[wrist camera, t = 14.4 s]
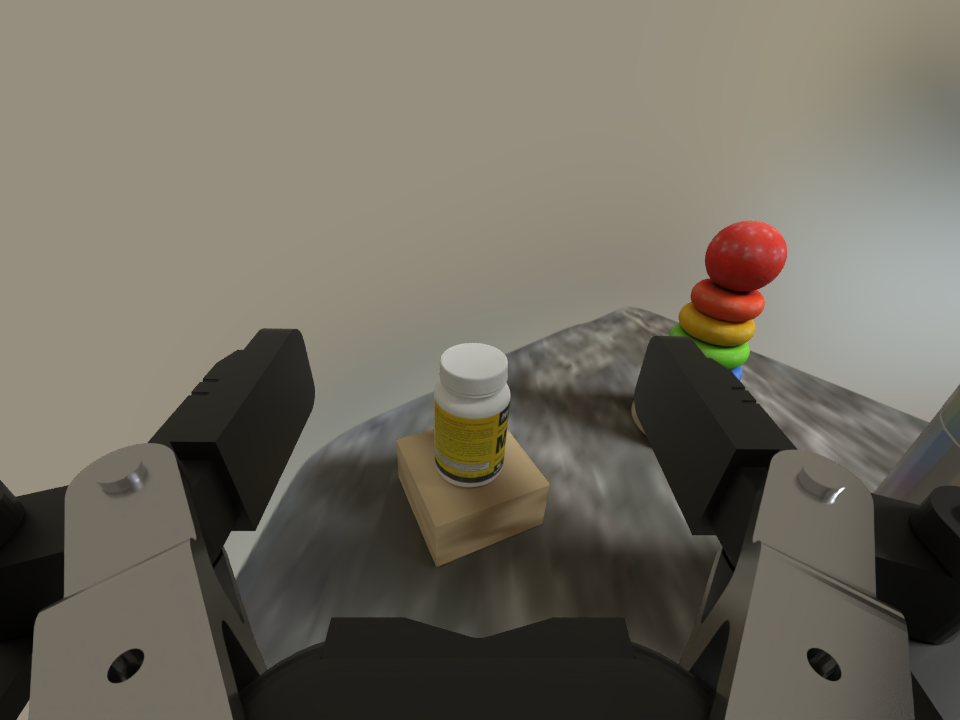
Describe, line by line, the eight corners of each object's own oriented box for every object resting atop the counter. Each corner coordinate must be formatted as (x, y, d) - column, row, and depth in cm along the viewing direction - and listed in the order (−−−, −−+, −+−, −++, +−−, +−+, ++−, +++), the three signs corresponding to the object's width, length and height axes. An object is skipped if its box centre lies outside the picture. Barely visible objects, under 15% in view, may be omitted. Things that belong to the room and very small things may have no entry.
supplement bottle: (506, 490, 28) (518, 384, 23) (432, 489, 28) (430, 382, 23) (500, 438, 32) (510, 339, 27) (436, 437, 32) (435, 337, 27)
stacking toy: (678, 469, 36) (772, 245, 25) (611, 412, 41) (666, 212, 31) (739, 440, 39) (843, 232, 29) (669, 392, 45) (735, 204, 35)
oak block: (491, 449, 36) (494, 412, 34) (542, 523, 30) (550, 484, 28) (399, 478, 33) (395, 439, 31) (436, 567, 27) (435, 527, 25)
